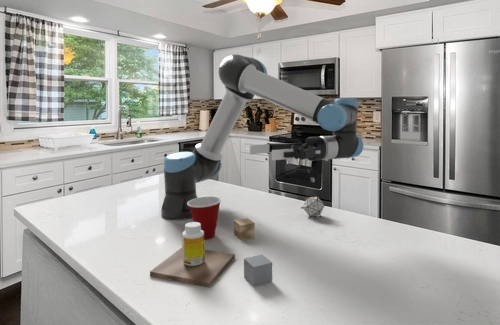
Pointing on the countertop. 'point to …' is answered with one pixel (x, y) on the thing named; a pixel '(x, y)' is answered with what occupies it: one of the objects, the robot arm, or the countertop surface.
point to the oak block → (244, 229)
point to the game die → (313, 206)
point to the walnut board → (193, 268)
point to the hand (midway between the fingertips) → (260, 152)
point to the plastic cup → (205, 213)
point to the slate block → (258, 270)
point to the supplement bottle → (193, 244)
